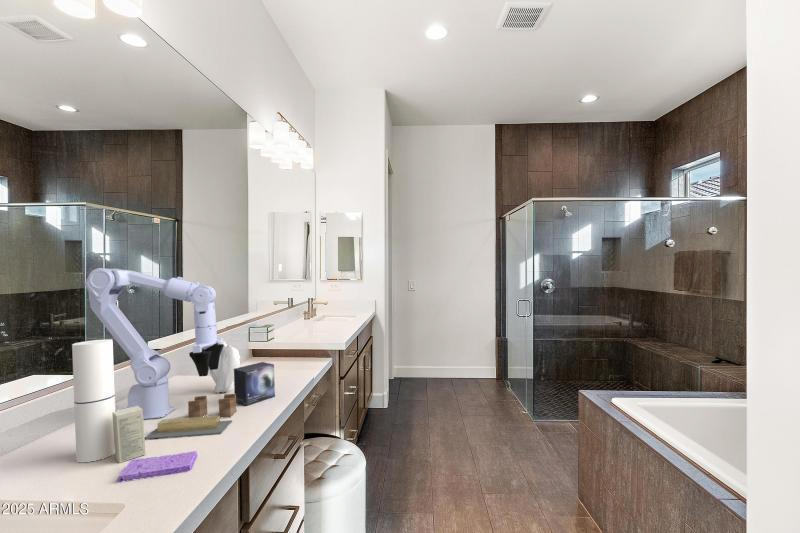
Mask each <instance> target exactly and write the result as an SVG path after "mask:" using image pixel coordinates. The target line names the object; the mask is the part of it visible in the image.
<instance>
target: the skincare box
mask: <svg viewBox="0 0 800 533" xmlns="http://www.w3.org/2000/svg"><path fill="white" fill-rule="evenodd" d="M112 416H113V430H114V444H115V454H114V457H115V460H116V459H117V460H116V462H117V463H118V462H119V463H118V464H121V463H124V462H126V461H127V462H128V461H131V460H134V459H137V458H139V457H142V456H144V455H145V456H146V452H147V451H146V442H145V441H146V440H145V438H144V437H145V426H144V424H145V423H144V419H143V410H142V408H141V407H139V406H134V407H130V408H128V407H127V408H123V409H118V410H115V412H112Z"/></svg>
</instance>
